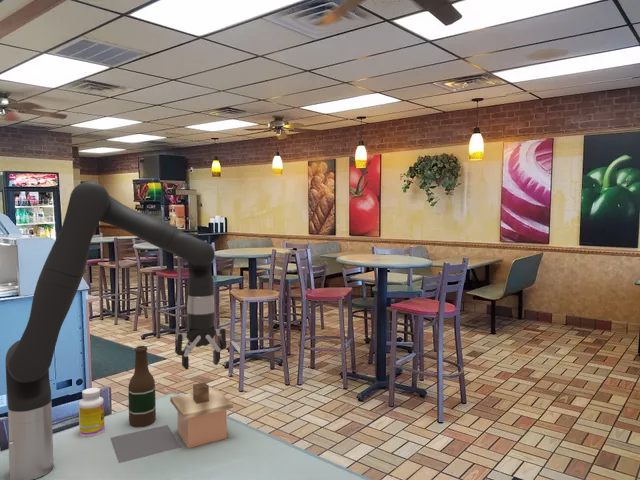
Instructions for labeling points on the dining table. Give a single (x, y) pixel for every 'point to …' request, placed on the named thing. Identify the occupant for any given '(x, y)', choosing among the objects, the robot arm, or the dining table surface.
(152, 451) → the mat
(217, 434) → the terracotta square planter
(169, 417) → the dining table surface
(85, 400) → the supplement bottle
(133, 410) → the beer bottle
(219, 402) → the lid
